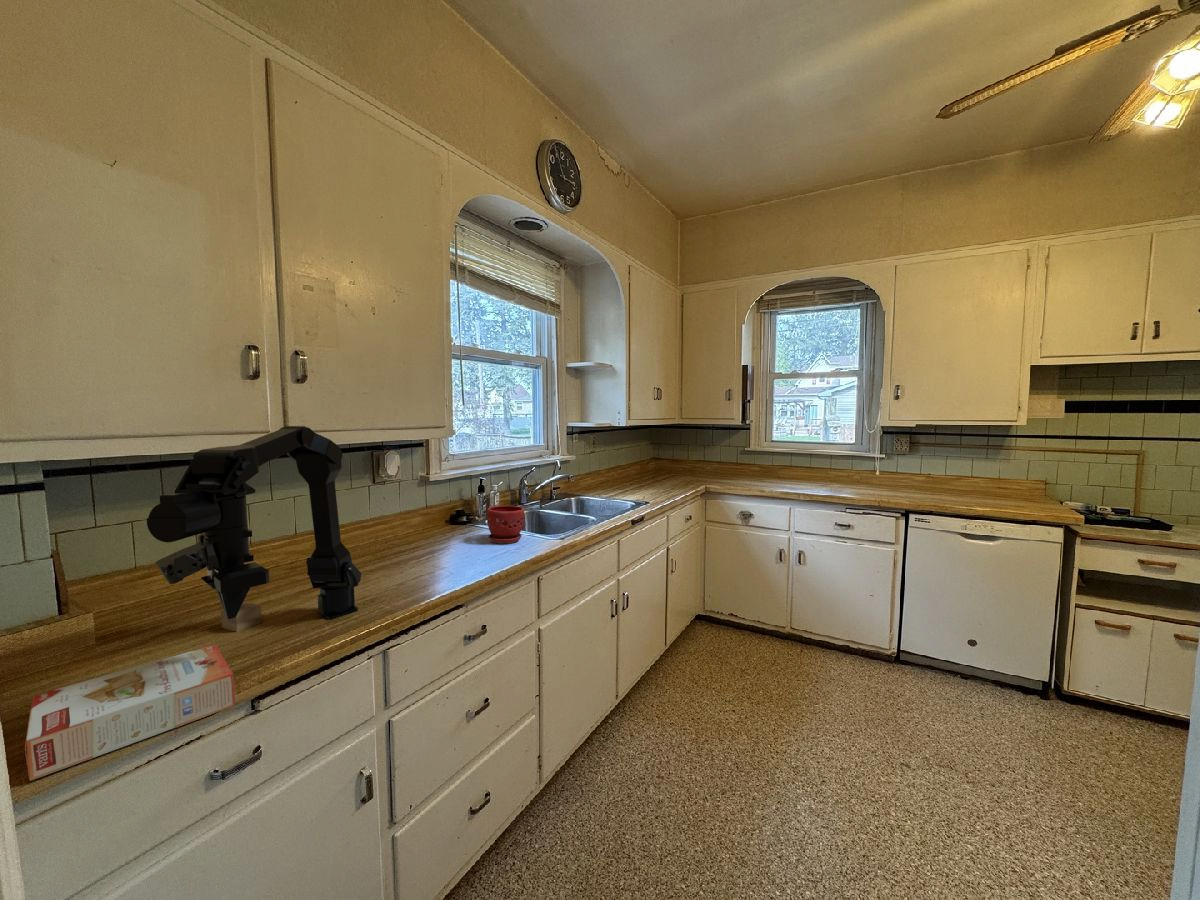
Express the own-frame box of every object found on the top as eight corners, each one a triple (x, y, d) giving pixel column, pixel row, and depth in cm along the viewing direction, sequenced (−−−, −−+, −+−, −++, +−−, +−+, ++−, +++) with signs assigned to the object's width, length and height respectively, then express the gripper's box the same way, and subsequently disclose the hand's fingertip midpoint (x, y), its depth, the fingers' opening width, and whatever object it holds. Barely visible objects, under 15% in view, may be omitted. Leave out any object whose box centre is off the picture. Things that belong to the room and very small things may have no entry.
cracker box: (234, 669, 73) (22, 740, 58) (237, 706, 74) (28, 786, 58) (216, 640, 83) (29, 694, 67) (218, 673, 83) (33, 734, 68)
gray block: (246, 619, 105) (245, 601, 105) (261, 622, 104) (260, 605, 103) (221, 628, 101) (220, 610, 100) (237, 632, 99) (236, 614, 99)
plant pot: (515, 546, 162) (515, 512, 161) (480, 544, 165) (480, 510, 164) (530, 537, 175) (529, 505, 174) (497, 534, 178) (497, 503, 177)
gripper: (147, 526, 76) (154, 619, 78) (173, 546, 65) (180, 655, 66) (231, 514, 85) (236, 598, 86) (268, 531, 74) (273, 627, 75)
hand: (231, 617), depth 78 cm, fingers closed
